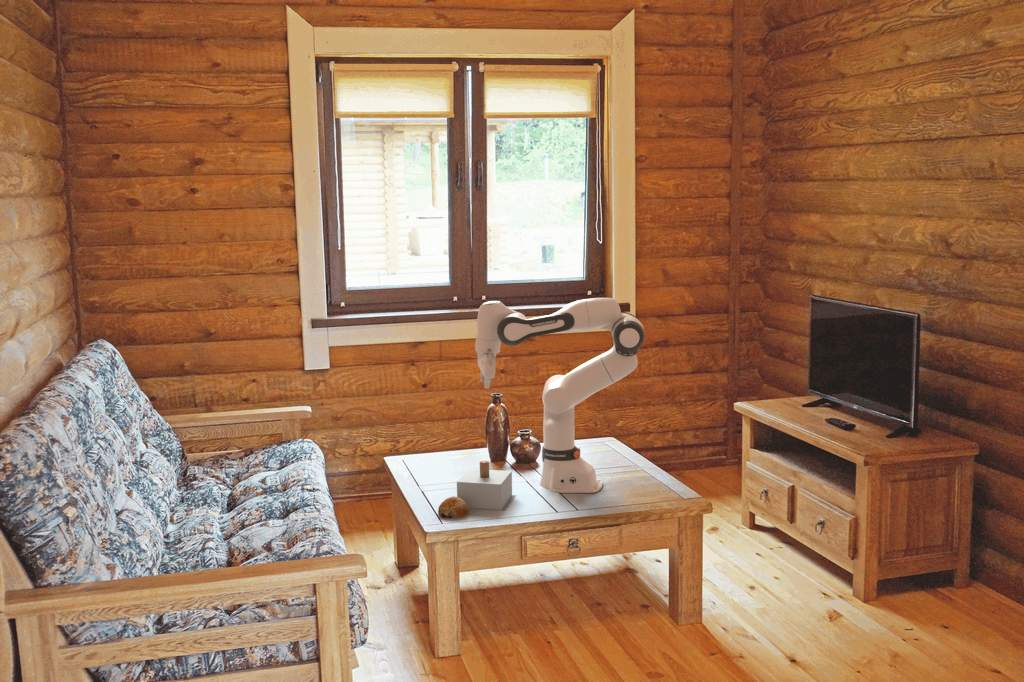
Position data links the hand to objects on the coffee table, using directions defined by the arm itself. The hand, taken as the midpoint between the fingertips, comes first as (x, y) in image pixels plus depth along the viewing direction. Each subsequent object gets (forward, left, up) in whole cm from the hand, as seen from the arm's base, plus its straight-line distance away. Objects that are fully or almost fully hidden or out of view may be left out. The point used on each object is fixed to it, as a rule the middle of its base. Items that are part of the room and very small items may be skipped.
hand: (484, 384), depth 363 cm
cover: (-4, +19, -36) cm, 41 cm away
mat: (-4, +19, -37) cm, 42 cm away
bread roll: (+3, +33, -37) cm, 50 cm away
